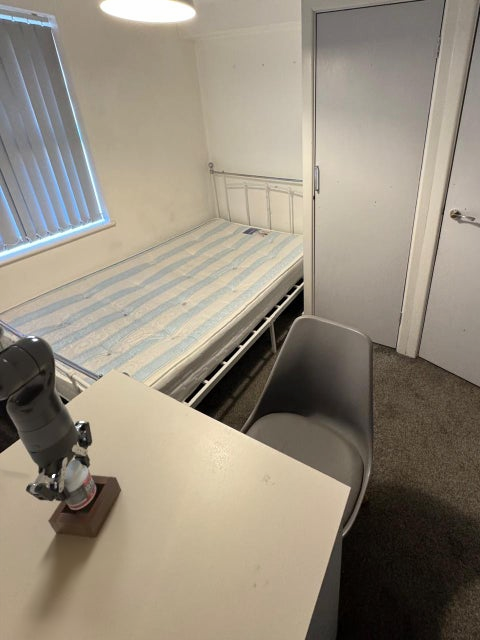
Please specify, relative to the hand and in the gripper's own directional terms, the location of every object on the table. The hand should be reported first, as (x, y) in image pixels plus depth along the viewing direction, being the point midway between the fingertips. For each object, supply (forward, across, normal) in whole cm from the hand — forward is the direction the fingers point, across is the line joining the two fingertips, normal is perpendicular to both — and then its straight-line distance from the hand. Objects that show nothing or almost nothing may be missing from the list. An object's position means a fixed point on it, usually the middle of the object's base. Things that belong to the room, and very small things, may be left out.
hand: (75, 481), depth 68 cm
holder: (+11, 0, 0) cm, 11 cm away
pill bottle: (+6, 0, 0) cm, 6 cm away
